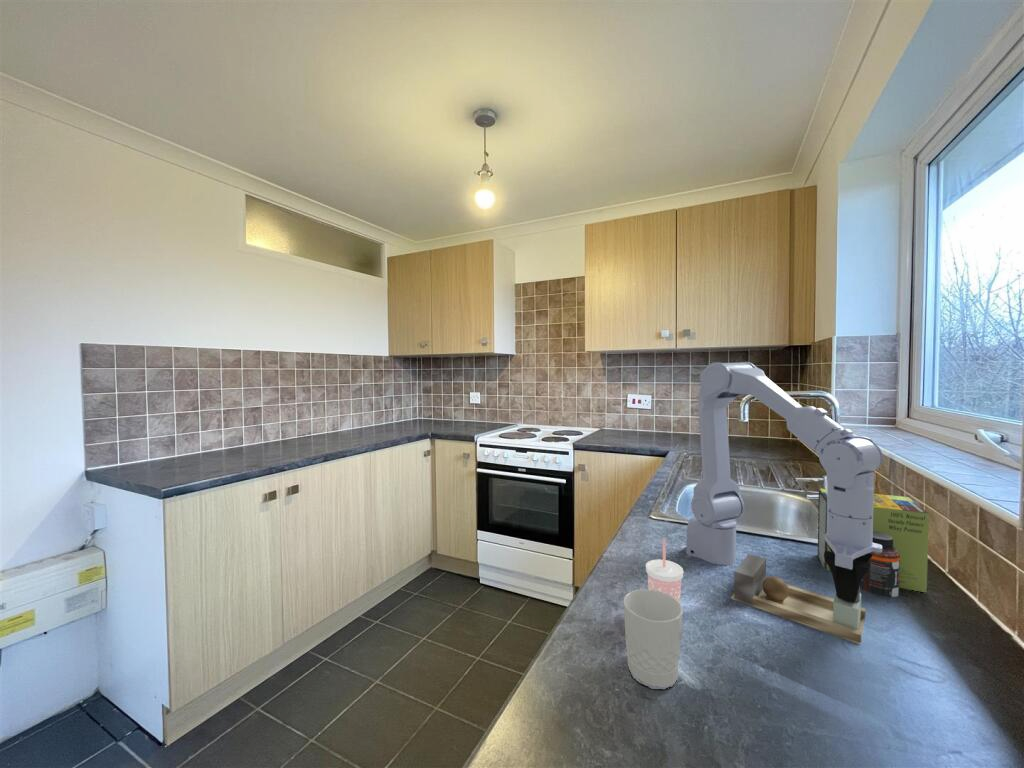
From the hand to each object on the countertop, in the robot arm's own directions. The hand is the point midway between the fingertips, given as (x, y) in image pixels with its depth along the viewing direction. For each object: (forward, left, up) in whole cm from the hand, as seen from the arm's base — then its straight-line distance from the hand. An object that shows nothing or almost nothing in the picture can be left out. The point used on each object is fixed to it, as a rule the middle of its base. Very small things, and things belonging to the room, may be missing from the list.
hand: (847, 595), depth 66 cm
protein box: (+1, +26, -6) cm, 27 cm away
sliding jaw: (0, 0, -4) cm, 4 cm away
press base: (-7, 0, -6) cm, 9 cm away
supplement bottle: (+3, +17, -6) cm, 18 cm away
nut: (-10, 0, -5) cm, 11 cm away
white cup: (-19, -30, -6) cm, 36 cm away
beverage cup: (-23, -17, -6) cm, 29 cm away
